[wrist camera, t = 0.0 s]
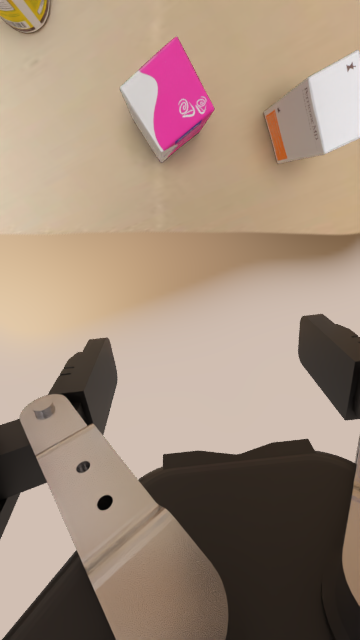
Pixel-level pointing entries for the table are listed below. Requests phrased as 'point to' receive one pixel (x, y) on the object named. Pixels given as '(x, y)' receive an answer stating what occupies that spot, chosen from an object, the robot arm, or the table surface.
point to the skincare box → (318, 112)
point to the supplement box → (167, 100)
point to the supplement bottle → (24, 14)
